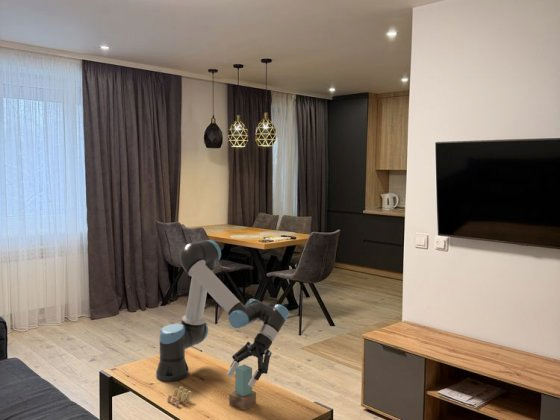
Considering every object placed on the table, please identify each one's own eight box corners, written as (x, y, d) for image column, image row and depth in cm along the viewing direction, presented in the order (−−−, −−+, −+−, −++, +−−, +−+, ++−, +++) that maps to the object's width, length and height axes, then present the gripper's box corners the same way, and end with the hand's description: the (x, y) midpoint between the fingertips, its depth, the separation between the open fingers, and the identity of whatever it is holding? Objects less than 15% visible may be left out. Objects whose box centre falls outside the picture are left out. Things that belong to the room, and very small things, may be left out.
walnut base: (229, 405, 205) (229, 394, 204) (240, 398, 211) (240, 387, 211) (244, 411, 200) (244, 399, 200) (255, 403, 207) (256, 392, 207)
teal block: (235, 392, 206) (235, 367, 205) (244, 389, 209) (244, 364, 208) (242, 396, 202) (242, 370, 201) (251, 393, 205) (252, 367, 205)
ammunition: (181, 385, 213) (166, 391, 207) (192, 390, 208) (176, 397, 202) (181, 395, 213) (166, 402, 207) (192, 401, 208) (176, 408, 202)
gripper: (290, 349, 206) (264, 394, 197) (250, 334, 224) (225, 375, 214) (281, 340, 202) (254, 386, 193) (242, 325, 219) (215, 367, 210)
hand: (239, 380), depth 203 cm, fingers open, 13 cm apart
